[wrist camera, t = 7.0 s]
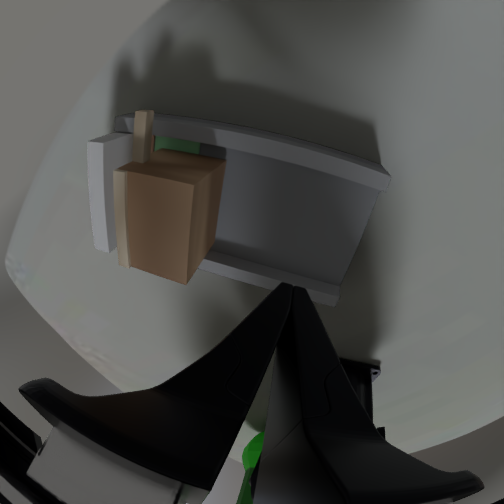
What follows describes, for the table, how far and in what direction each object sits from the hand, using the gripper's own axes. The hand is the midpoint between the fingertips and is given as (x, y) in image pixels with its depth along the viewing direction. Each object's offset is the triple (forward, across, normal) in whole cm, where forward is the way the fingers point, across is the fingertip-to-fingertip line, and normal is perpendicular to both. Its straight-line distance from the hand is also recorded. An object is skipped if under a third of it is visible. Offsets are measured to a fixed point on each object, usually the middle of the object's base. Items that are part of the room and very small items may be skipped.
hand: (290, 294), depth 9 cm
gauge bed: (+7, +4, 0) cm, 8 cm away
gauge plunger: (+6, +6, -1) cm, 8 cm away
